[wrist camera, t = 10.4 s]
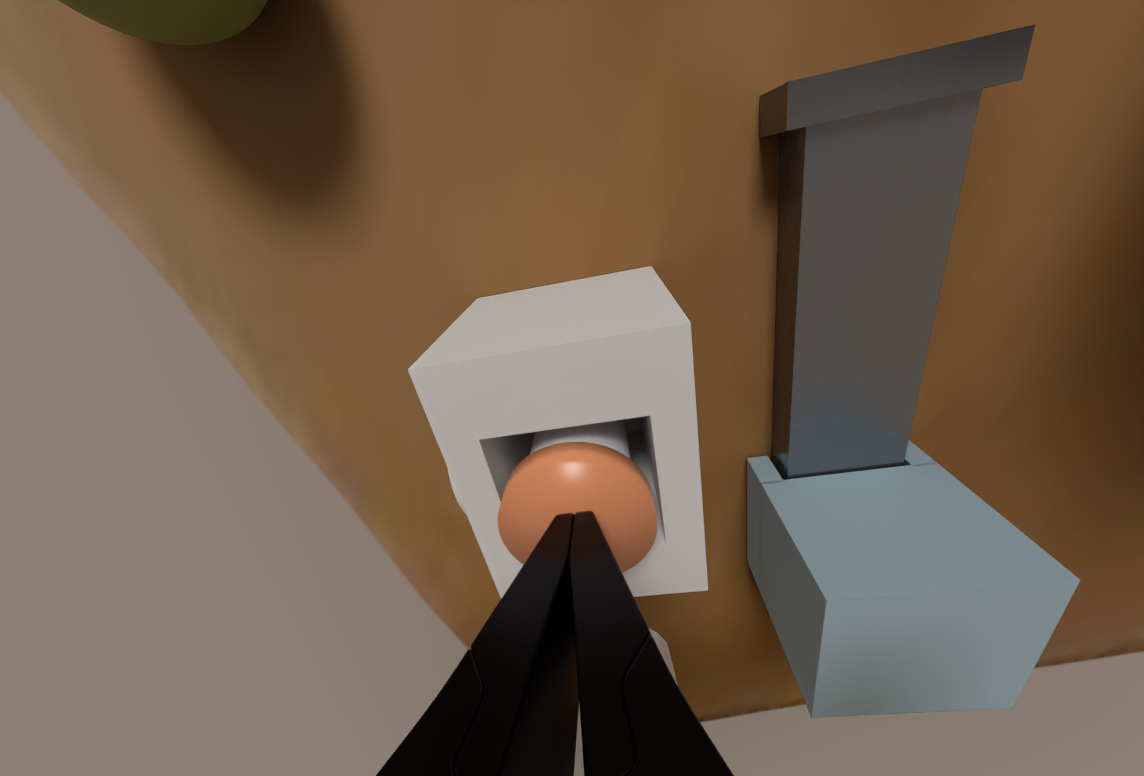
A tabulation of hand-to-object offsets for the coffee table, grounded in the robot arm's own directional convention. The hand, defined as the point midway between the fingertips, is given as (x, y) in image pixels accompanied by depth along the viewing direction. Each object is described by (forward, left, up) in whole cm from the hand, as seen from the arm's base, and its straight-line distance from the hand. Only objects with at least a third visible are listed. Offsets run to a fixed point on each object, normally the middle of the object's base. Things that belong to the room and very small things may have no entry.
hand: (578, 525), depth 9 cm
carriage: (-9, +7, -7) cm, 13 cm away
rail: (-9, +2, -7) cm, 12 cm away
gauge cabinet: (0, 0, -7) cm, 7 cm away
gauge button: (0, 0, -6) cm, 6 cm away
